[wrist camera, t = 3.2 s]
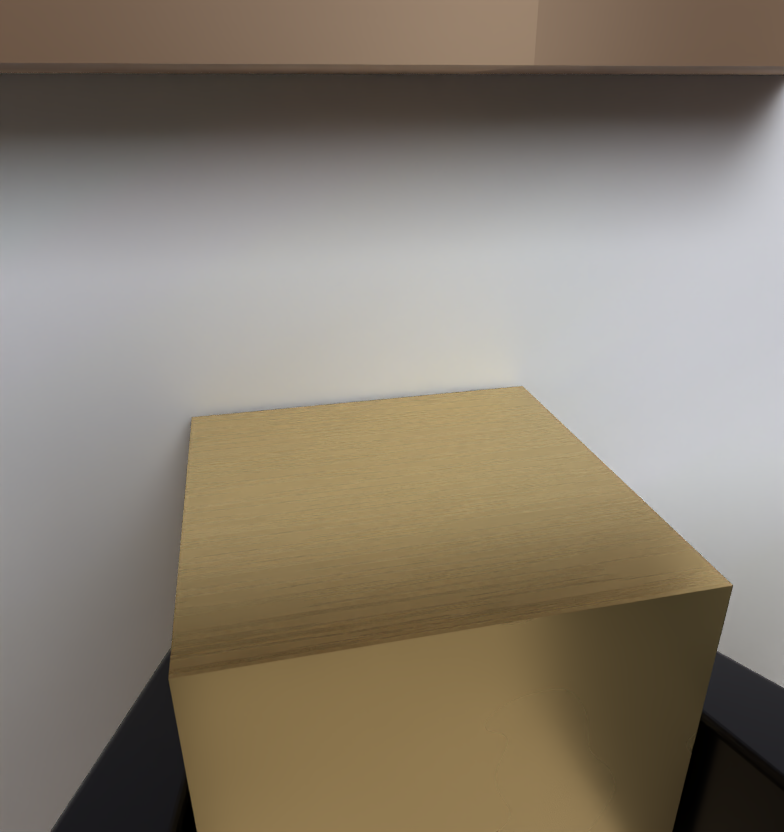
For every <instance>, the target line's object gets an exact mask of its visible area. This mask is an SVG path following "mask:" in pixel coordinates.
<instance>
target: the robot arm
mask: <svg viewBox="0 0 784 832" xmlns="http://www.w3.org/2000/svg"><path fill="white" fill-rule="evenodd" d="M170 655H171V648H170V649H169V651H168V653H167V654H166V656H165V657H164V659H163V660H162V662H161V663H160V665H159V666H158V668H157V669H156V671H155V672H154V674H153V675H152V677H151V679H150V680H149V682H148V683H147V685H146V686H145V688H144V689H143V691H142V692H141V694H140V695H139V697H138V698H137V700H136V701H135V703H134V705H133V706H132V708H131V709H130V711H129V712H128V714H127V715H126V717H125V718H124V720H123V721H122V723H121V724H120V726H119V727H118V729H117V731H116V732H115V734H114V735H113V737H112V738H111V740H110V741H109V743H108V744H107V746H106V747H105V749H104V750H103V752H102V753H101V755H100V757H99V758H98V760H97V761H96V763H95V764H94V766H93V767H92V769H91V770H90V772H89V773H88V775H87V776H86V778H85V779H84V781H83V783H82V784H81V786H80V787H79V789H78V790H77V792H76V793H75V795H74V796H73V798H72V799H71V801H70V802H69V804H68V805H67V807H66V809H65V810H64V812H63V813H62V815H61V816H60V818H59V819H58V821H57V822H56V824H55V825H54V827H53V828H52V830H51V831H50V832H197V829H196V824H195V819H194V813H193V808H192V803H191V797H190V792H189V786H188V781H187V776H186V770H185V765H184V760H183V754H182V749H181V744H180V738H179V733H178V728H177V722H176V717H175V712H174V706H173V701H172V696H171V690H170V685H169V680H168V678H169V667H170ZM672 832H784V688H783V687H781V686H779V685H777V684H776V683H774V682H772V681H770V680H768V679H767V678H765V677H763V676H761V675H759V674H758V673H756V672H754V671H752V670H750V669H748V668H747V667H745V666H743V665H741V664H739V663H738V662H736V661H734V660H732V659H730V658H729V657H727V656H725V655H723V654H721V653H719V652H718V651H717V652H716V656H715V660H714V664H713V668H712V673H711V677H710V681H709V685H708V689H707V693H706V697H705V701H704V705H703V709H702V713H701V717H700V721H699V725H698V729H697V733H696V737H695V741H694V745H693V749H692V754H691V758H690V762H689V766H688V770H687V774H686V778H685V782H684V786H683V790H682V794H681V798H680V802H679V806H678V810H677V814H676V818H675V822H674V826H673V830H672Z"/></svg>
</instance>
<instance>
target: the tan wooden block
mask: <svg viewBox="0 0 784 832" xmlns="http://www.w3.org/2000/svg"><path fill="white" fill-rule="evenodd" d="M732 588H733V585H732V584H731V583H730V582H729V581H728V580H727V579H726V578H725V577H723V576H722V575H721V574H720V573H719V572H718V571H717V570H716V569H715V568H714V567H713V566H712V565H711V564H710V563H709V562H708V561H707V560H705V559H704V558H703V557H702V556H701V555H700V554H699V553H698V552H697V551H696V550H695V549H694V548H693V547H692V546H691V545H690V544H689V543H688V542H686V541H685V540H684V539H683V538H682V537H681V536H680V535H679V534H678V533H677V532H676V531H675V530H674V529H673V528H672V527H671V526H670V525H669V524H667V523H666V522H665V521H664V520H663V519H662V518H661V517H660V516H659V515H658V514H657V513H656V512H655V511H654V510H653V509H652V508H651V507H650V506H648V505H647V504H646V503H645V502H644V501H643V500H642V499H641V498H640V497H639V496H638V495H637V494H636V493H635V492H634V491H633V490H632V489H631V488H629V487H628V486H627V485H626V484H625V483H624V482H623V481H622V480H621V479H620V478H619V477H618V476H617V475H616V474H615V473H614V472H613V471H612V470H610V469H609V468H608V467H607V466H606V465H605V464H604V463H603V462H602V461H601V460H600V459H599V458H598V457H597V456H596V455H595V454H594V453H593V452H591V451H590V450H589V449H588V448H587V447H586V446H585V445H584V444H583V443H582V442H581V441H580V440H579V439H578V438H577V437H576V436H575V435H574V434H572V433H571V432H570V431H569V430H568V429H567V428H566V427H565V426H564V425H563V424H562V423H561V422H560V421H559V420H558V419H557V418H556V417H555V416H553V415H552V414H551V413H550V412H549V411H548V410H547V409H546V408H545V407H544V406H543V405H542V404H541V403H540V402H539V401H538V400H537V399H536V398H534V397H533V396H532V395H531V394H530V393H529V392H528V391H527V390H526V389H525V388H524V387H523V386H520V387H509V388H498V389H488V390H477V391H466V392H456V393H445V394H435V395H424V396H413V397H403V398H392V399H381V400H371V401H360V402H350V403H339V404H328V405H318V406H307V407H296V408H286V409H275V410H265V411H254V412H243V413H233V414H222V415H211V416H201V417H192V422H191V433H190V444H189V455H188V466H187V477H186V489H185V500H184V511H183V522H182V533H181V544H180V555H179V566H178V578H177V589H176V600H175V611H174V622H173V633H172V644H171V655H170V667H169V678H168V680H169V685H170V690H171V696H172V701H173V706H174V712H175V717H176V722H177V728H178V733H179V738H180V744H181V749H182V754H183V760H184V765H185V770H186V776H187V781H188V786H189V792H190V797H191V803H192V808H193V813H194V819H195V824H196V829H197V832H672V830H673V826H674V822H675V818H676V814H677V810H678V806H679V802H680V798H681V794H682V790H683V786H684V782H685V778H686V774H687V770H688V766H689V762H690V758H691V754H692V749H693V745H694V741H695V737H696V733H697V729H698V725H699V721H700V717H701V713H702V709H703V705H704V701H705V697H706V693H707V689H708V685H709V681H710V677H711V673H712V668H713V664H714V660H715V656H716V652H717V648H718V644H719V640H720V636H721V632H722V628H723V624H724V620H725V616H726V612H727V608H728V604H729V600H730V596H731V592H732Z"/></svg>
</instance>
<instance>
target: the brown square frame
mask: <svg viewBox="0 0 784 832" xmlns="http://www.w3.org/2000/svg"><path fill="white" fill-rule="evenodd" d="M0 73H120V74H656V75H784V0H0Z"/></svg>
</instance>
